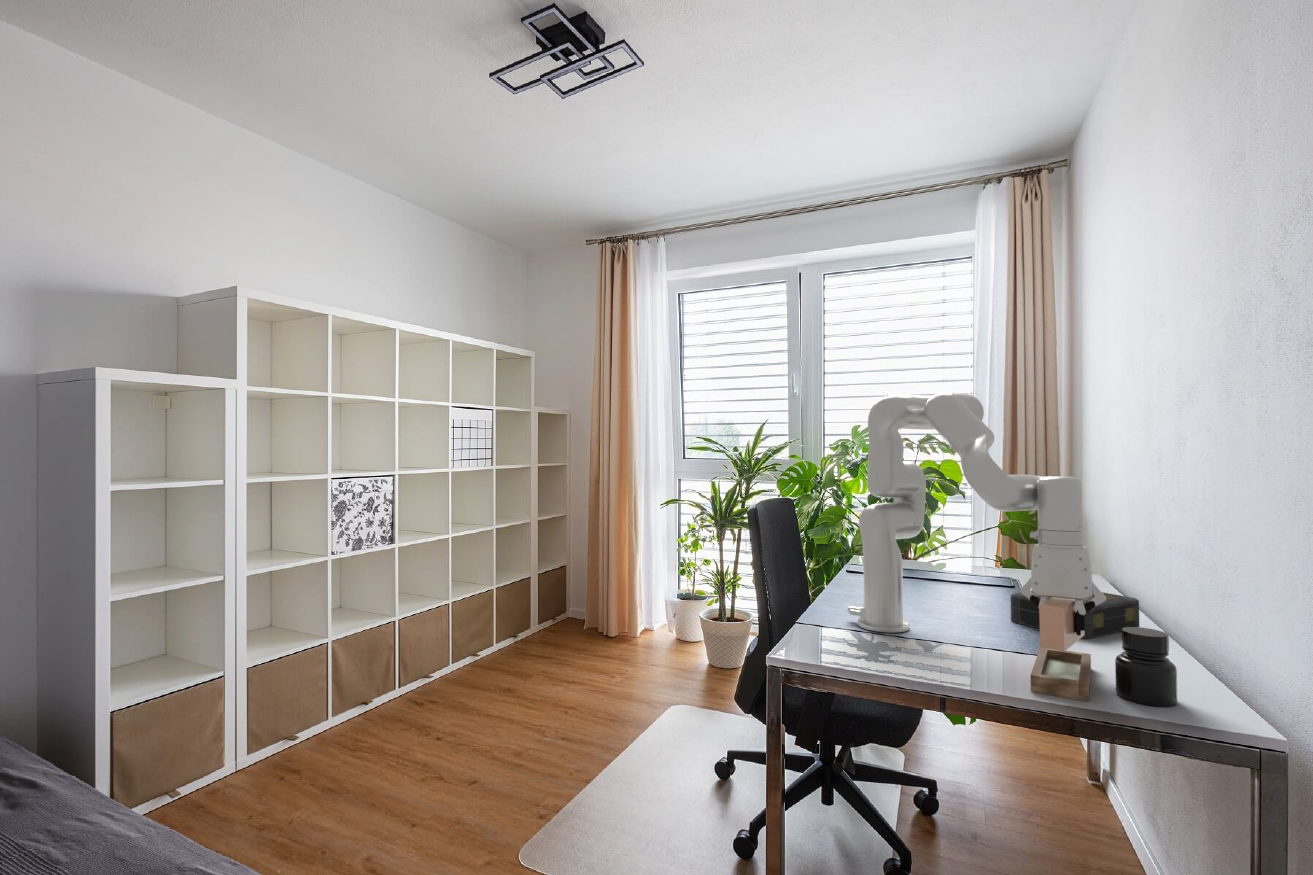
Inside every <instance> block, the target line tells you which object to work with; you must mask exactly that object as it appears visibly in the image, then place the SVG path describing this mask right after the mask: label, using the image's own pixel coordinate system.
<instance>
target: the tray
mask: <svg viewBox="0 0 1313 875" xmlns="http://www.w3.org/2000/svg"><path fill="white" fill-rule="evenodd" d="M1091 656H1092V655H1091V653H1085V652H1079V651H1078V652H1077V651H1071V650H1066V651H1065V652H1064V651H1059V650H1053V649H1047V648H1042V647H1039V650H1038V652H1037V655H1036V658H1035V662H1034V664H1033V667H1032V669H1031V673H1030V692H1033V693H1039V694H1044V695H1049V696H1055V697H1061V698H1065V699H1072V700H1077V701H1082V702H1088V703H1089V702H1090V688H1091V673H1092V662H1091V661H1092V659H1091Z"/></svg>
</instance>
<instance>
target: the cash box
mask: <svg viewBox="0 0 1313 875" xmlns="http://www.w3.org/2000/svg"><path fill="white" fill-rule="evenodd" d="M1030 591H1031V592H1032V590H1030ZM1101 592H1102V593H1103V594H1104V596H1105V597H1106V601H1104V602H1103V603H1101V604H1099V605H1097V606H1095V607H1094V608H1092V609H1091V610H1090V611H1088V612H1087V613H1086V614H1085V635H1084V636H1083V637H1082V638H1080V639H1079V640H1090V639H1094V638H1098V637H1103V636H1108V635H1113V634H1117V633H1122V628H1124V627H1140V601H1139V599H1137V598H1135V597H1131V596H1126V595H1125V596H1124V595H1119V594H1113V593H1108V592H1103V591H1101ZM1032 593H1033V592H1032ZM1033 594H1034V593H1033ZM1035 595H1036V594H1035ZM1036 596H1037V597H1039V598H1040V599H1041V596H1039V595H1036ZM1051 598H1052V597H1049V598H1048V600H1049V599H1051ZM1093 598H1095V595H1094V594H1093V593H1092V596H1091V598H1090V599H1087V600H1084V604H1085V603H1086V602H1088V601H1089V600H1091V599H1093ZM1010 621H1011V622H1012V623H1014V622H1015V624H1018V623H1021V624H1020V625H1022V624H1024V625H1023V626H1026V625H1027V627H1030V626H1033V627H1032V628H1034V627H1036V628H1035V629H1038V628H1039V630H1040V618H1039V608H1038V607H1037V606H1036V605H1035V604H1034V603H1033V602H1032V601H1031V600H1030V599H1029V598H1027V597H1026V596H1024V595H1023V594H1022V593H1021V592H1016V593H1012V594H1011V595H1010Z"/></svg>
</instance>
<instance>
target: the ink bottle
mask: <svg viewBox="0 0 1313 875" xmlns="http://www.w3.org/2000/svg"><path fill="white" fill-rule="evenodd" d="M1169 639H1170V638H1169V634H1168V633H1167V632H1164V631H1161V630H1157V629H1154V628H1149V627H1140V626H1139V627H1124V628H1122V632H1121V645H1122V646H1121V649H1122V650H1123V651H1122V652H1120V654H1118V655H1117V656H1116V657H1115V661H1114V662H1115V664H1114V666H1115V667H1114V668H1115V669H1114V670H1115V671H1114V673H1115V692H1116V694H1117V695H1118V696H1120V697H1122V698H1123V699H1126V700H1128V701H1132V702H1134V703H1138V704H1141V705H1146V706H1155V707H1170V706H1174V705H1176V704H1178V673H1177V672H1178V671H1177V667H1176V665H1175V664H1174V663H1173V661H1171V660H1170V659H1169V658H1168V656H1169V651H1170V649H1169V648H1170V645H1169V644H1170V642H1169Z"/></svg>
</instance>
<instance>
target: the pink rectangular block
mask: <svg viewBox="0 0 1313 875" xmlns="http://www.w3.org/2000/svg"><path fill="white" fill-rule="evenodd" d="M1076 613H1077V605H1076V602H1075V599H1064V598H1054V597H1052V598H1051V599H1049V600H1047V601H1045V602H1043V603H1042V604H1040V605H1039V618H1040V629H1039V646H1040V647H1042V648H1047V649H1053V650H1059V651H1064V652H1065V651H1068V649H1070V648H1071V647H1072V646H1073V645H1075V644H1076V642H1078V641H1079V640H1081V639H1080V638H1082V637H1083V636H1084V635H1085V631H1081V636H1079V635H1076ZM1040 647H1039V648H1040Z"/></svg>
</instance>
